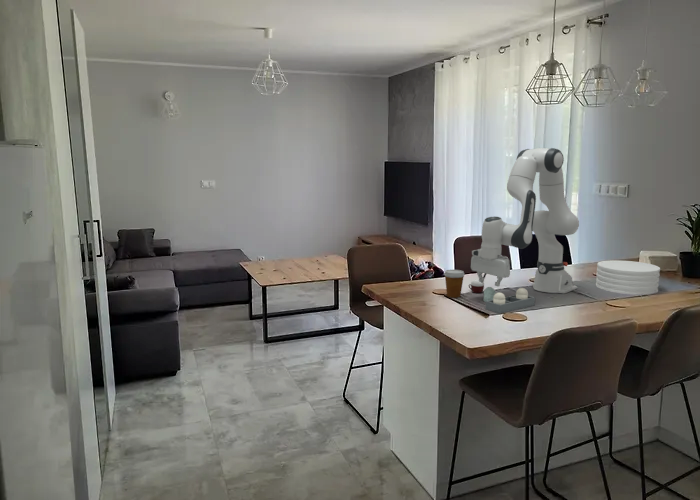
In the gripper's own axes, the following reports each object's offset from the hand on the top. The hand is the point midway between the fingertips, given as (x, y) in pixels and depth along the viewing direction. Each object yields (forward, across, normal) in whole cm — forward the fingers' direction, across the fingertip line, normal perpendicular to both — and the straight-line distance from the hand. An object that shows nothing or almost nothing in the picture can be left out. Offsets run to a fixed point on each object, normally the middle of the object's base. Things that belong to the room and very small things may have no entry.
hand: (489, 283), depth 242 cm
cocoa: (+9, +17, -11) cm, 22 cm away
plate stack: (+8, -18, -80) cm, 83 cm away
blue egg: (+9, 0, -1) cm, 9 cm away
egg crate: (+9, -12, -1) cm, 15 cm away
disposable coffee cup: (+9, +18, +4) cm, 21 cm away
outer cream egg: (+8, -12, +6) cm, 16 cm away
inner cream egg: (+8, -12, -8) cm, 16 cm away
